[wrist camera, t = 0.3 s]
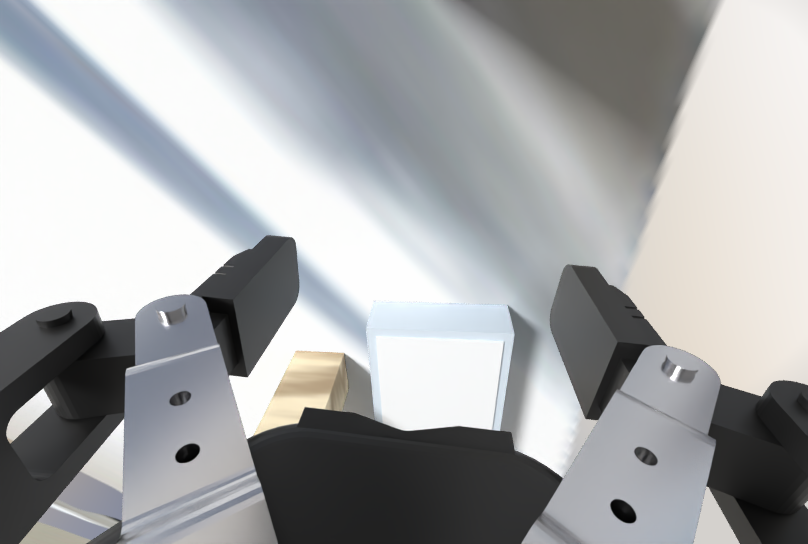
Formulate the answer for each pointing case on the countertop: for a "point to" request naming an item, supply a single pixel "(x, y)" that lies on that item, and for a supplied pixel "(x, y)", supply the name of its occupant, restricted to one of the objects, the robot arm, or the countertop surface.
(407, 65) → the countertop surface
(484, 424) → the white chamfered block
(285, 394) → the maple block
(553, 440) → the countertop surface
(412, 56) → the countertop surface
